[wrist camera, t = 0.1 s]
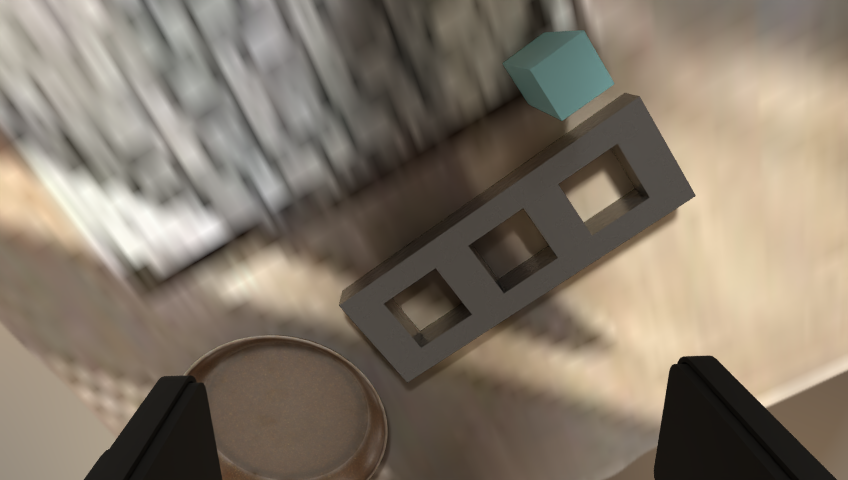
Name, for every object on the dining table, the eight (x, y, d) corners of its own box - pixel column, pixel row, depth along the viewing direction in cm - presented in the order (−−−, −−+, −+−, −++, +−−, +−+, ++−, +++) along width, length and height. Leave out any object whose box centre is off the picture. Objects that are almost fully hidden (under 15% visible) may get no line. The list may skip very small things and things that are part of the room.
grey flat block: (342, 290, 51) (339, 305, 48) (624, 93, 45) (639, 96, 43) (406, 364, 54) (407, 382, 51) (678, 186, 48) (695, 195, 46)
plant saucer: (164, 465, 57) (150, 490, 54) (202, 294, 50) (189, 310, 47) (355, 508, 60) (353, 533, 57) (414, 351, 53) (415, 370, 50)
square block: (502, 63, 44) (529, 69, 35) (544, 32, 44) (583, 30, 34) (528, 104, 45) (562, 120, 36) (569, 74, 45) (614, 83, 35)
